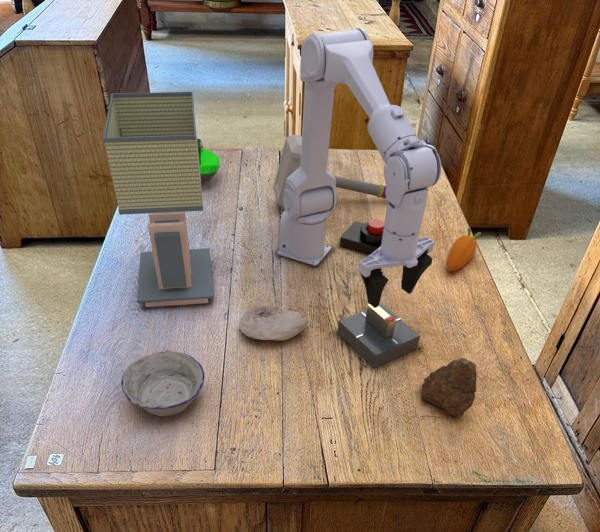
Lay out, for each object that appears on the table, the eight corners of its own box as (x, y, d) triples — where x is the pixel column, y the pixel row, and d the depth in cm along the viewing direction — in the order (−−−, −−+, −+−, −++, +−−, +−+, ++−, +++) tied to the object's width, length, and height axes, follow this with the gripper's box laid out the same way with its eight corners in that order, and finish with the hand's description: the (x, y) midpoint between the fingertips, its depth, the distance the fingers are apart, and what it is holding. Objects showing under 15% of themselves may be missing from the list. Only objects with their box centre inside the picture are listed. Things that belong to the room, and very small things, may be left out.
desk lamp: (214, 309, 110) (197, 135, 86) (139, 314, 108) (100, 138, 84) (210, 256, 122) (194, 91, 99) (142, 260, 121) (109, 93, 97)
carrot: (466, 268, 116) (488, 234, 125) (446, 254, 116) (470, 220, 125) (452, 284, 120) (475, 249, 129) (433, 270, 120) (457, 236, 129)
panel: (336, 333, 106) (338, 320, 104) (379, 315, 110) (381, 302, 108) (373, 368, 100) (375, 355, 98) (417, 348, 104) (420, 334, 102)
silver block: (365, 320, 104) (367, 303, 101) (372, 317, 105) (374, 301, 102) (386, 338, 101) (389, 322, 98) (393, 335, 101) (396, 319, 99)
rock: (413, 388, 97) (436, 343, 90) (446, 389, 99) (471, 344, 92) (434, 430, 90) (460, 384, 83) (468, 430, 92) (497, 385, 85)
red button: (364, 232, 124) (365, 225, 123) (371, 224, 126) (372, 217, 125) (380, 236, 123) (381, 229, 122) (386, 229, 125) (387, 221, 124)
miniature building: (175, 170, 149) (169, 127, 141) (220, 169, 150) (217, 126, 142) (173, 192, 141) (167, 147, 133) (221, 191, 142) (218, 147, 134)
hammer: (406, 158, 138) (287, 130, 129) (416, 173, 133) (293, 145, 123) (383, 215, 148) (271, 193, 139) (391, 230, 143) (275, 209, 134)
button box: (339, 246, 127) (341, 229, 124) (353, 229, 132) (355, 213, 129) (381, 258, 124) (384, 242, 121) (394, 241, 129) (397, 225, 126)
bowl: (220, 409, 92) (217, 388, 89) (143, 439, 88) (137, 419, 84) (188, 361, 100) (185, 340, 96) (116, 387, 95) (110, 365, 91)
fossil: (229, 322, 101) (251, 293, 108) (231, 342, 104) (252, 312, 111) (294, 335, 98) (312, 304, 105) (294, 354, 101) (312, 323, 108)
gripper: (382, 251, 85) (371, 323, 95) (453, 225, 91) (436, 296, 101) (353, 230, 89) (346, 301, 99) (423, 206, 95) (409, 276, 104)
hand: (389, 297), depth 100 cm, fingers open, 7 cm apart
